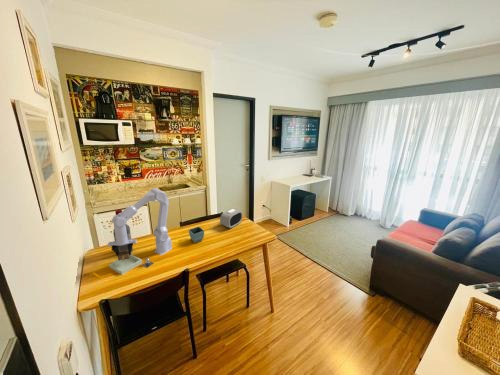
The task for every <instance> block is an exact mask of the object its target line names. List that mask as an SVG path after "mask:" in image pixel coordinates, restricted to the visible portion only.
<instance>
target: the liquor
mask: <svg viewBox="0 0 500 375" xmlns="http://www.w3.org/2000/svg"><path fill="white" fill-rule="evenodd" d="M122 211H123V210H122V209H115V215H118V214H119V213H121V212H122ZM125 226H126V231H127V237H128V239H132V234H131V227H130V226H129V225H128V224H127V223H126V225H125ZM112 233H113V238H114V239H113V241H116V236H115V230H114V229H113V232H112ZM127 246H128V244H125V245H121V246H119V252H120V251H122V250H128V247H127ZM133 246H134V245H133ZM133 246H132V251H131V253H133V251H134V248H133Z"/></svg>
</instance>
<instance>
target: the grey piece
mask: <svg viewBox="0 0 500 375" xmlns="http://www.w3.org/2000/svg"><path fill="white" fill-rule="evenodd" d="M144 260H145V262H144V263H142V264H141V266H142V267H144V268H146V269H148V268H149V267H151V266H153V265H154V264H155V263H154V262H152V261H151V260H150V258H149V257H146V258H145V259H144Z"/></svg>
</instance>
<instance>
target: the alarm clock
mask: <svg viewBox="0 0 500 375" xmlns="http://www.w3.org/2000/svg"><path fill="white" fill-rule="evenodd" d="M243 214H244V213H243V211H242V210H239V209H235V208H230V209H229V210H226V211H224V212H223V213H221V215H220V217H219V223H220V225H221V226H224V227H226V228H229V229H232V228H234V227H236V226H238V225H239V224H240V223H242V220H243Z"/></svg>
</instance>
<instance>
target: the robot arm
mask: <svg viewBox="0 0 500 375" xmlns="http://www.w3.org/2000/svg"><path fill="white" fill-rule="evenodd" d="M156 201H157V202H158V203H159V209H158V216H157V217H158V218H157V225H156V226H155V229H154V231H153V236H154V237H155V247H156V249H155V250H153V252H154V253H155V254H158V255H160V256H163V255H165V254H166V253H168V252H169V251H171V250H172V249H173V246H172V245H173V244H172V239H171V237H170V236H169V234H168V233H169V231H168V228H167V221H168V215H169V214H168V213H169V206H170V200H169V198H168V196H167V193H166V192H164V191H162V190H160V189H159V188H156V187H154V188H151V190H149V191H147V192H146V194H145V195H144V196H142V197H141V198H140V199H139V200H138V201H136V203H134V204H133V205H129V206H126V207H125V209H123V210H122V212H121V213H119V214H118V215H116V214H115V215H114V216H113V217H112V219H111V223H112V224H113V231H114V230H115V236H116V241H115V240H113V241H109V242H108V243H107V247H108V248H110V247H111V248H110V249H111V250H112V251H113V252H114V253H115V255H116V256H117V258H118V254H119V246H121V245H125V244H128V246H127V247H128V250H129V255H131V254H132V252H133V251H132V246H134V245H137V243H138V240H137V238H136V239H135V238H133V239H132V238H131V239H128V237H127V231H126V226H125V225H126V224H127V223H128V221H129V220H130V219H131V218H133V217H134V216H135V215H137V213H138V210H139V209H141V208H142V207H144V206H145V205H147V203H149V202H156ZM131 251H132V252H131Z"/></svg>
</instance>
